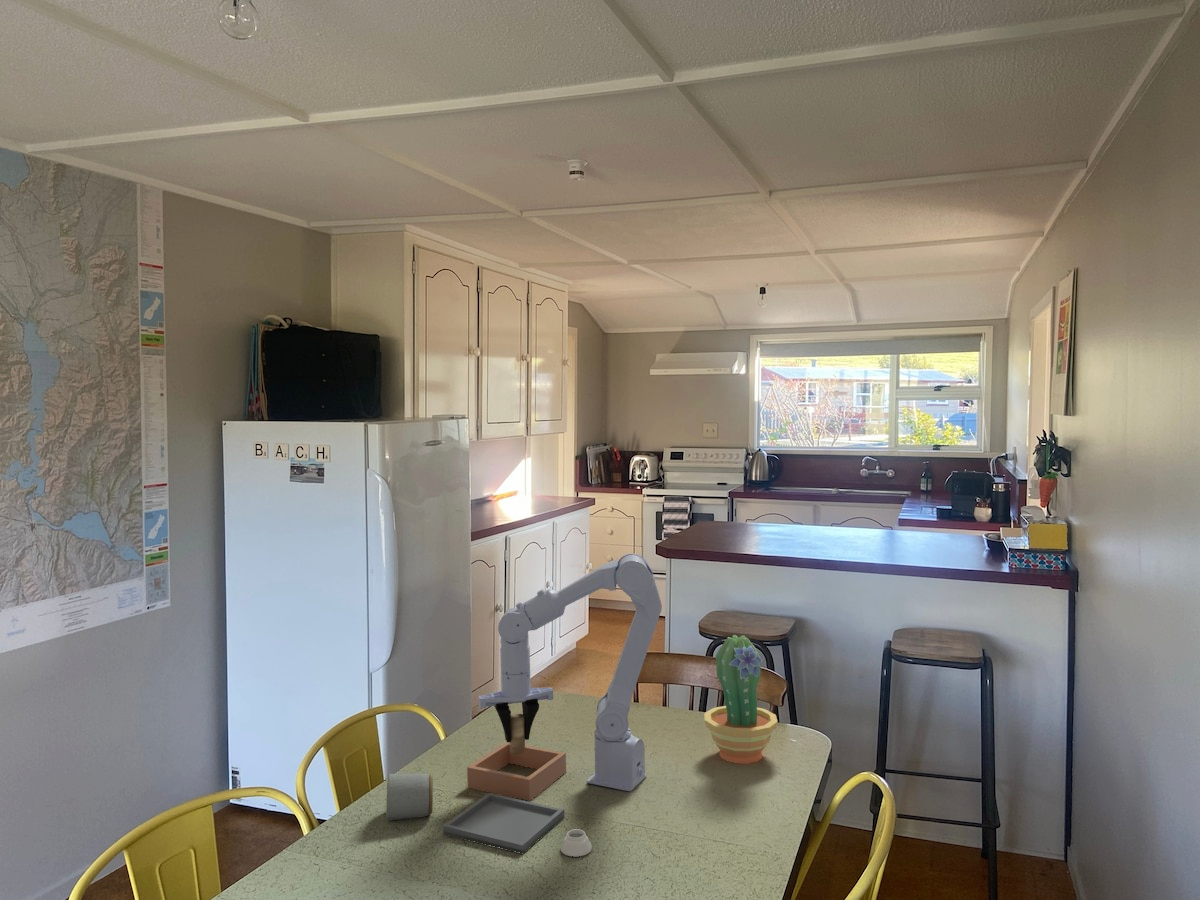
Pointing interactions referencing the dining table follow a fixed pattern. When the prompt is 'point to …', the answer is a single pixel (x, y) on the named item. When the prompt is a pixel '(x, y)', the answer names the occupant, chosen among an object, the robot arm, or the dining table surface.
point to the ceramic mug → (409, 796)
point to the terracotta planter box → (512, 785)
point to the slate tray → (504, 822)
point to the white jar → (576, 843)
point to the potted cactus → (740, 704)
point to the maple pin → (517, 734)
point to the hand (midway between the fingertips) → (517, 739)
